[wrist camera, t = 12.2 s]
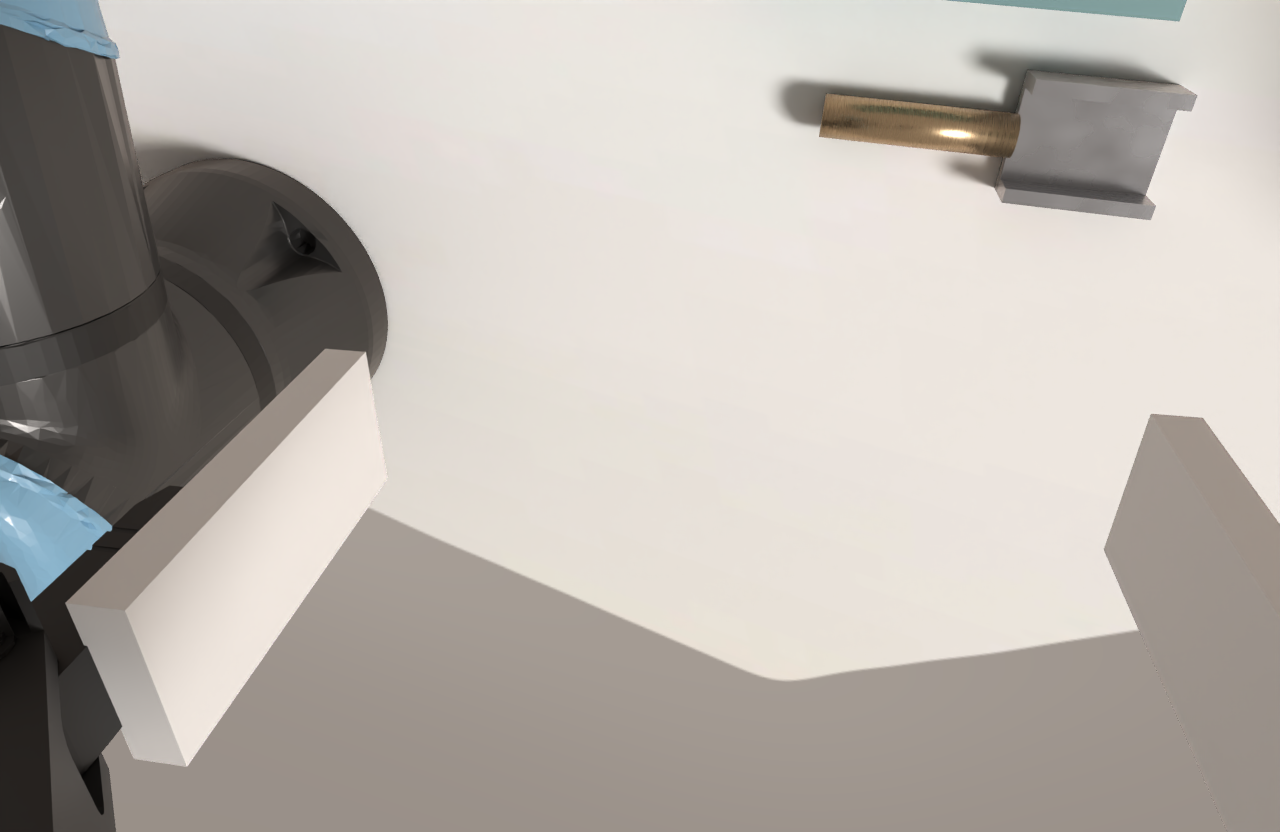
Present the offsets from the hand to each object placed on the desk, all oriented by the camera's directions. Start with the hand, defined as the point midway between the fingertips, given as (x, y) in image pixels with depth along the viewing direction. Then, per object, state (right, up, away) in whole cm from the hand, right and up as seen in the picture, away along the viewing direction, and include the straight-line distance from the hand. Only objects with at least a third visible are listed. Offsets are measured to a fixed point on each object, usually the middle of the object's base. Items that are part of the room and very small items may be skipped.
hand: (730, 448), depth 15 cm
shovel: (+13, +13, +23) cm, 30 cm away
